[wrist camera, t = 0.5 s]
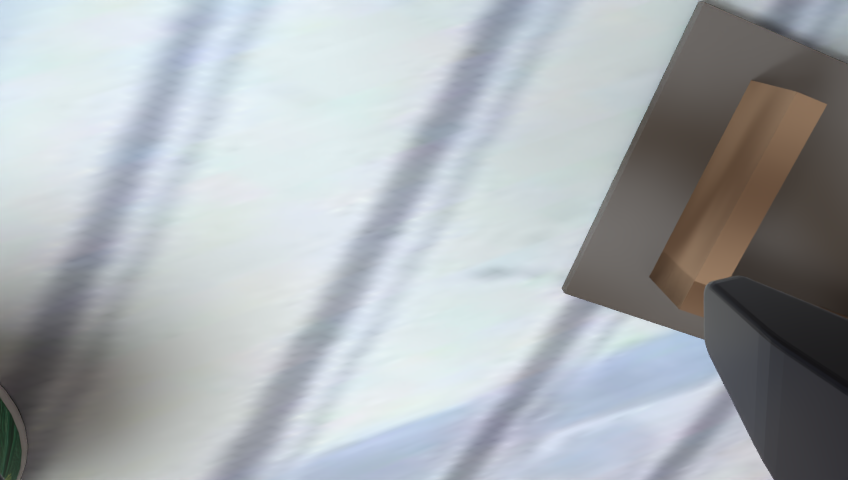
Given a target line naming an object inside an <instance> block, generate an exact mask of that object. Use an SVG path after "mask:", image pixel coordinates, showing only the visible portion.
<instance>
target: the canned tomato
mask: <svg viewBox="0 0 848 480" xmlns="http://www.w3.org/2000/svg"><path fill="white" fill-rule="evenodd" d="M27 449H28V443H27V437H26V431H25V426H24V424H23V421H22V419H21V416H20V414H19V411H18V409H17V407H16V406H15V404H14V403H13V401H12V400H11V398H10V397H9V395H8V393H7V392H6V391H5V390H4V388H3V387H2V386H1V385H0V474H1V475H2V477H3V478H4V479H5V480H20V479H21V476H22V474H23V471H24V468H25V465H26V461H27Z"/></svg>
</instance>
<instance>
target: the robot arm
mask: <svg viewBox="0 0 848 480" xmlns="http://www.w3.org/2000/svg"><path fill="white" fill-rule="evenodd" d="M704 339H705V344H706V348H707V351H708V353H709V355H710V358H711V360H712V362H713V364H714V366H715V368H716V370H717V372H718V374H719V376H720V378H721V380H722V382H723V384H724V386H725V388H726V390H727V392H728V394H729V396H730V398H731V400H732V402H733V404H734V406H735V408H736V410H737V412H738V414H739V416H740V418H741V420H742V422H743V424H744V426H745V428H746V430H747V432H748V434H749V436H750V438H751V440H752V442H753V444H754V446H755V447H756V449H757V451H758V453H759V455H760V457H761V459H762V461H763V463H764V464H765V466H766V467H767V469H768V471H769V472H770V474H771V476H772V477H773V479H774V480H848V319H847V318H845V317H842V316H840V315H837V314H835V313H832V312H830V311H828V310H825V309H823V308H820V307H818V306H815V305H813V304H810V303H808V302H806V301H803V300H801V299H798V298H796V297H793V296H791V295H789V294H786V293H784V292H781V291H779V290H776V289H774V288H771V287H769V286H767V285H764V284H762V283H759V282H757V281H754V280H752V279H750V278H747V277H744V276H739V275H738V276H732V277H728V278H723V279H719V280H715V281H711V282H709V283H708V284H707V285H706V286H705V289H704ZM0 480H5V479H4V478H3V477H2V475H1V474H0Z"/></svg>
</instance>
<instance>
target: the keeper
mask: <svg viewBox="0 0 848 480" xmlns="http://www.w3.org/2000/svg"><path fill="white" fill-rule="evenodd" d="M738 275H739V276H744V277H747V278H750V279H752V280H754V281H757V282H759V283H762V284H764V285H767V286H769V287H771V288H774V289H776V290H779V291H781V292H784V293H786V294H789V295H791V296H793V297H796V298H798V299H801V300H803V301H806V302H808V303H810V304H813V305H815V306H818V307H820V308H823V309H825V310H828V311H830V312H832V313H835V314H837V315H840V316H842V317H845V318H847V319H848V64H847V63H844V62H842V61H840V60H838V59H835V58H833V57H831V56H828V55H826V54H824V53H821V52H819V51H817V50H814V49H812V48H810V47H807V46H805V45H803V44H800V43H798V42H796V41H794V40H791V39H789V38H787V37H784V36H782V35H780V34H777V33H775V32H773V31H770V30H768V29H766V28H763V27H761V26H759V25H757V24H754V23H752V22H750V21H747V20H745V19H743V18H740V17H738V16H736V15H733V14H731V13H729V12H726V11H724V10H722V9H719V8H717V7H715V6H713V5H710V4H708V3H706V2H698V4H697V6H696V8H695V10H694V13H693V15H692V17H691V19H690V21H689V23H688V25H687V27H686V29H685V31H684V33H683V36H682V38H681V40H680V42H679V44H678V46H677V48H676V50H675V52H674V54H673V57H672V59H671V61H670V63H669V65H668V67H667V69H666V71H665V73H664V75H663V77H662V80H661V82H660V84H659V86H658V88H657V90H656V92H655V94H654V96H653V98H652V101H651V103H650V105H649V107H648V109H647V111H646V113H645V115H644V117H643V119H642V121H641V124H640V126H639V128H638V130H637V132H636V134H635V136H634V138H633V140H632V142H631V145H630V147H629V149H628V151H627V153H626V155H625V157H624V159H623V161H622V163H621V165H620V168H619V170H618V172H617V174H616V176H615V178H614V180H613V182H612V184H611V186H610V188H609V191H608V193H607V195H606V197H605V199H604V201H603V203H602V205H601V207H600V209H599V212H598V214H597V216H596V218H595V220H594V222H593V224H592V226H591V228H590V230H589V232H588V235H587V237H586V239H585V241H584V243H583V245H582V247H581V249H580V251H579V253H578V256H577V258H576V260H575V262H574V264H573V266H572V268H571V270H570V272H569V274H568V276H567V279H566V281H565V283H564V285H563V287H562V290H563V291H564V293H565V294H568V295H571V296H574V297H577V298H581V299H584V300H587V301H590V302H593V303H596V304H599V305H602V306H605V307H608V308H611V309H614V310H617V311H620V312H623V313H626V314H629V315H632V316H635V317H638V318H641V319H644V320H647V321H650V322H653V323H656V324H659V325H662V326H665V327H668V328H671V329H674V330H677V331H680V332H683V333H686V334H689V335H692V336H695V337H698V338H701V339H704V289H705V286H706V285H707V284H708V283H709V282H711V281H715V280H719V279H723V278H728V277H732V276H738ZM704 340H705V339H704Z"/></svg>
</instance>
